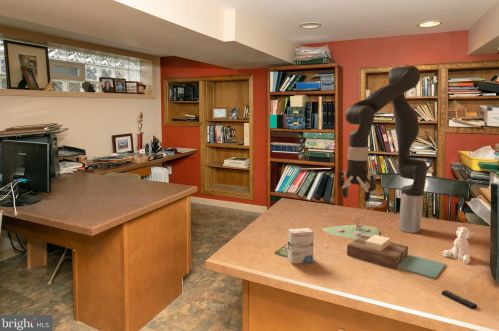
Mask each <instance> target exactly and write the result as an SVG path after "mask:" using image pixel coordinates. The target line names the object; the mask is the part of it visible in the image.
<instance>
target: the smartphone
mask: <svg viewBox="0 0 499 331" xmlns="http://www.w3.org/2000/svg"><path fill="white" fill-rule="evenodd" d="M274 255H277V256H281V257H284V258H286V259H288V243H287V244H285V245H284V246H282V247H280V248H279V249H277V250H275V251H274Z"/></svg>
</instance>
